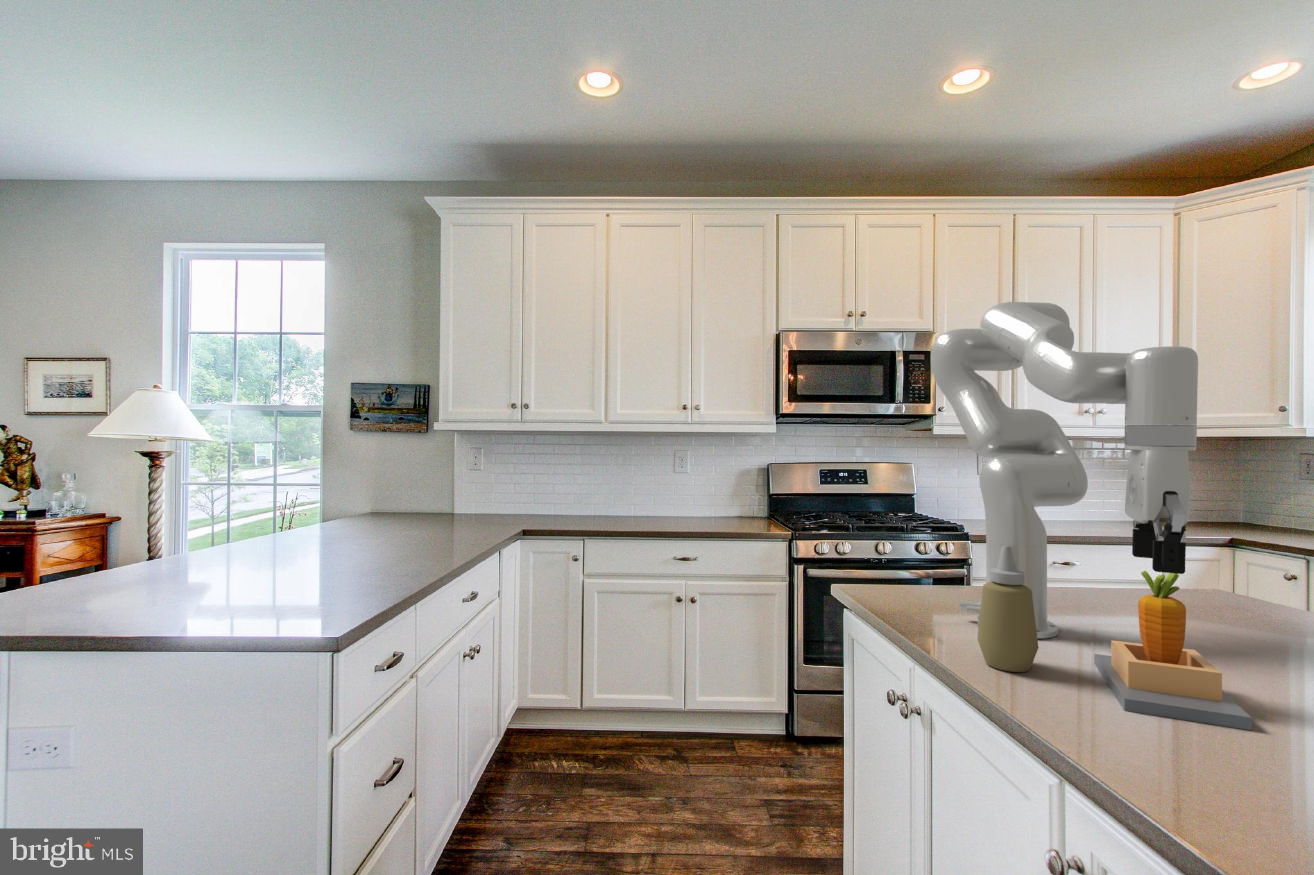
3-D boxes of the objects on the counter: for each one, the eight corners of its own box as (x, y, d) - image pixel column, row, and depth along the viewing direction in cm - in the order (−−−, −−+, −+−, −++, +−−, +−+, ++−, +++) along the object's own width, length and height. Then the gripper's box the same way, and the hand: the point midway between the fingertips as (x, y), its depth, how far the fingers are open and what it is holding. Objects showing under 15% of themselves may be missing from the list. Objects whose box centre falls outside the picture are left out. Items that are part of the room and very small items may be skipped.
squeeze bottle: (1031, 660, 93) (1030, 544, 94) (1045, 679, 86) (1045, 552, 86) (973, 654, 96) (972, 541, 96) (982, 672, 88) (981, 549, 89)
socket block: (1124, 710, 76) (1124, 670, 76) (1094, 663, 92) (1094, 630, 92) (1251, 730, 70) (1251, 687, 71) (1195, 676, 87) (1195, 642, 87)
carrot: (1129, 674, 84) (1128, 566, 84) (1162, 673, 84) (1161, 565, 84) (1161, 688, 79) (1160, 574, 79) (1196, 687, 79) (1196, 573, 79)
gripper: (1110, 437, 91) (1108, 550, 91) (1142, 440, 76) (1140, 575, 76) (1173, 438, 88) (1171, 555, 88) (1221, 440, 72) (1218, 582, 73)
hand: (1156, 564), depth 82 cm, fingers open, 9 cm apart
